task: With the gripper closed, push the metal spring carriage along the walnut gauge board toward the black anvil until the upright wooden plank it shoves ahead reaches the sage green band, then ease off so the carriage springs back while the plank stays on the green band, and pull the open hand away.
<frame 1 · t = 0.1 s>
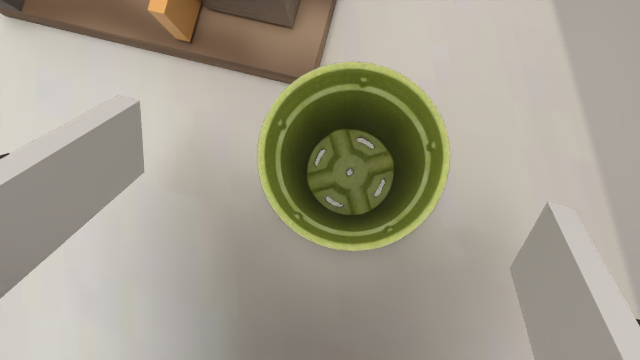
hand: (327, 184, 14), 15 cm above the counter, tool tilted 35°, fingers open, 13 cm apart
plant pot: (350, 171, 29), on the counter
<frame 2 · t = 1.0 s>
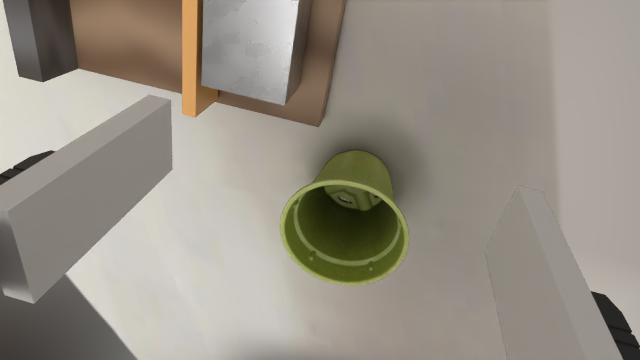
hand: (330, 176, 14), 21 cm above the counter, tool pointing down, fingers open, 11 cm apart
plant pot: (357, 177, 38), on the counter
spring carriage: (257, 30, 28), point 4 cm above the counter, slide at 0.0 cm
upright wooden plank: (203, 17, 29), point 4 cm above the counter, slide at 0.0 cm
gauge board: (190, 0, 33), on the counter
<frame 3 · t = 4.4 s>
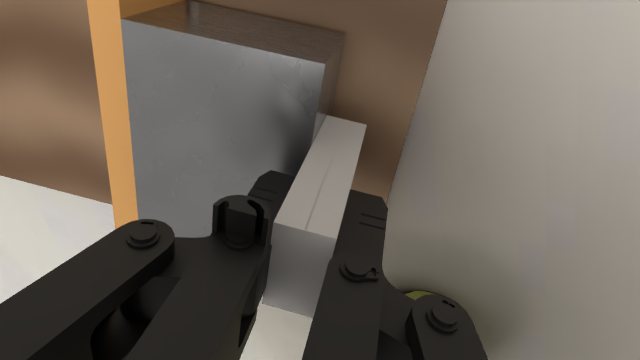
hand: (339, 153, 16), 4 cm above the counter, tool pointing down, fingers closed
spring carriage: (238, 138, 15), point 4 cm above the counter, slide at 1.1 cm, touching upright wooden plank, gripper
upright wooden plank: (149, 117, 16), point 4 cm above the counter, slide at 0.7 cm, touching spring carriage
gauge board: (153, 70, 20), on the counter
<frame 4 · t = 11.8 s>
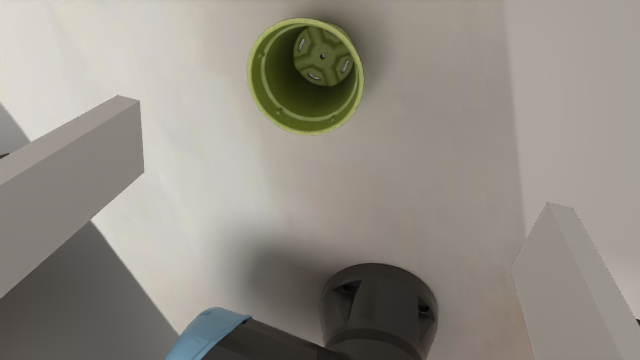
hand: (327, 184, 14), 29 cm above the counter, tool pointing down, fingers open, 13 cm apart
plant pot: (324, 53, 41), on the counter
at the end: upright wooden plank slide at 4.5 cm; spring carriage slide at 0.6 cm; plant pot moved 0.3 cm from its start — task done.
